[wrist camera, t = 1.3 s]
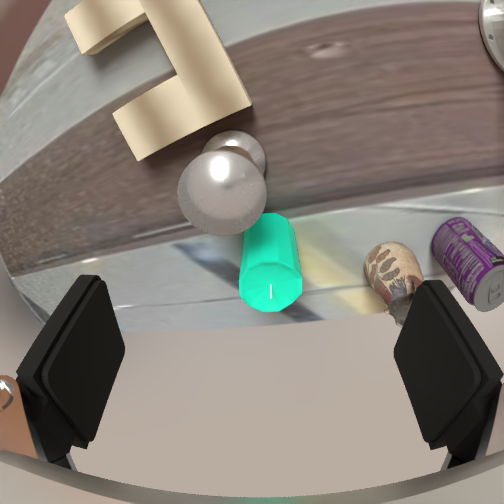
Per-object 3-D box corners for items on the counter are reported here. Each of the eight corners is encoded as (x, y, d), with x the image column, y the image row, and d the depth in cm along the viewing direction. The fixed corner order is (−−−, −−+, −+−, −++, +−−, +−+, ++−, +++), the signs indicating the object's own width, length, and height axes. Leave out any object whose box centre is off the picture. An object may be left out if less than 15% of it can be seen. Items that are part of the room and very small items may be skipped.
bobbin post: (249, 119, 32) (243, 137, 22) (275, 176, 35) (280, 217, 26) (190, 146, 34) (161, 175, 24) (218, 200, 37) (202, 247, 27)
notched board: (174, -43, 22) (167, -52, 19) (252, 103, 31) (251, 105, 28) (77, 18, 25) (64, 15, 22) (147, 154, 34) (137, 161, 31)
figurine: (354, 278, 42) (377, 343, 31) (377, 233, 38) (412, 291, 28) (396, 290, 42) (425, 351, 32) (420, 248, 39) (460, 304, 29)
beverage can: (473, 246, 38) (517, 296, 28) (435, 268, 40) (472, 324, 30) (466, 206, 35) (517, 252, 25) (424, 229, 37) (468, 282, 27)
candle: (253, 262, 41) (249, 328, 30) (237, 220, 38) (227, 279, 28) (299, 249, 40) (311, 314, 29) (286, 206, 37) (295, 262, 26)
